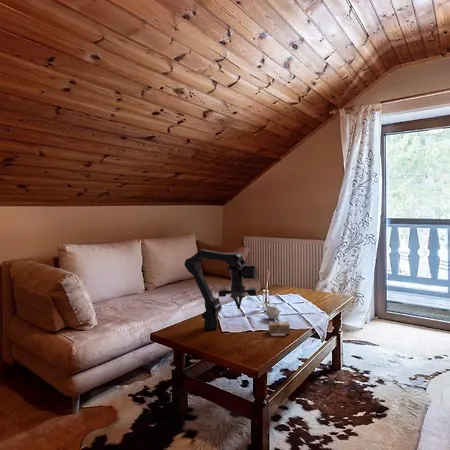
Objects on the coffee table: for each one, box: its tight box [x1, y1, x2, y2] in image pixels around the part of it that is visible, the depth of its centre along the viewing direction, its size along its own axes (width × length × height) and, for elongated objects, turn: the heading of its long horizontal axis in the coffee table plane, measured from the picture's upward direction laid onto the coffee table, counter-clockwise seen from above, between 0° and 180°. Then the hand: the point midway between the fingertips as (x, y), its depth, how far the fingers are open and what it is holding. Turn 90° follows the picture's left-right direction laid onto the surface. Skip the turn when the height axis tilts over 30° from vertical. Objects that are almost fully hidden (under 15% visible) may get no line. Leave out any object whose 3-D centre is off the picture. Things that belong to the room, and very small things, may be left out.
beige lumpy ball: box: [265, 303, 282, 321], centre depth 197 cm, size 9×8×10 cm
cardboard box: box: [268, 321, 291, 335], centre depth 178 cm, size 5×4×10 cm
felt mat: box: [270, 334, 287, 336], centre depth 179 cm, size 7×7×1 cm
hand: (238, 308), depth 177 cm, fingers closed
